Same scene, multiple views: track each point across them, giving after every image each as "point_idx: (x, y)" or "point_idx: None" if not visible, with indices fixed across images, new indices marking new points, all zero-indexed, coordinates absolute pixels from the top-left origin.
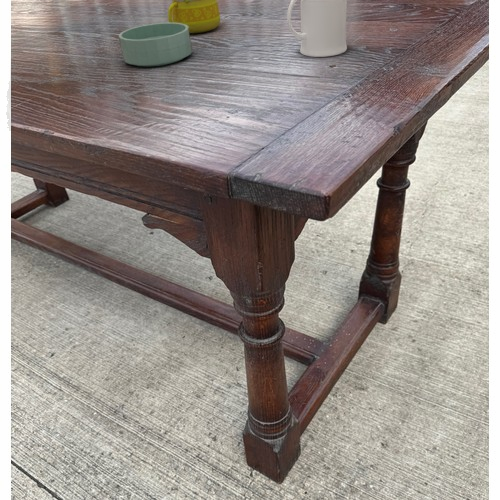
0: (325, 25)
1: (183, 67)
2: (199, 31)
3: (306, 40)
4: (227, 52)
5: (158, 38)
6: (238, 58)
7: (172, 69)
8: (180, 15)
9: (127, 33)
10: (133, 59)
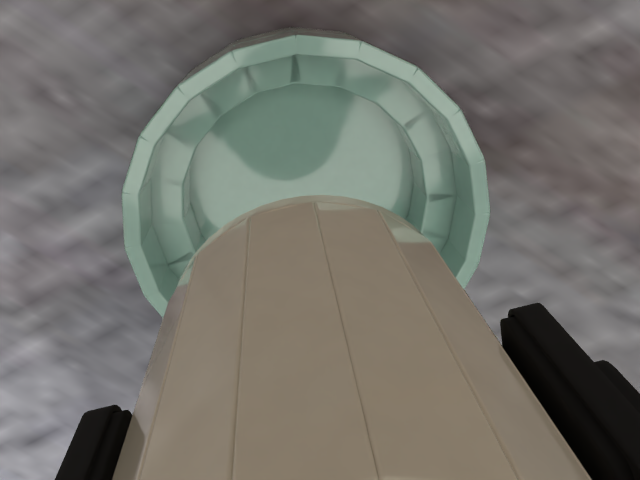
0: None
1: (78, 165)
2: None
3: None
4: (117, 376)
5: (135, 151)
6: (5, 352)
7: (92, 121)
8: None
9: (462, 156)
10: (263, 35)
